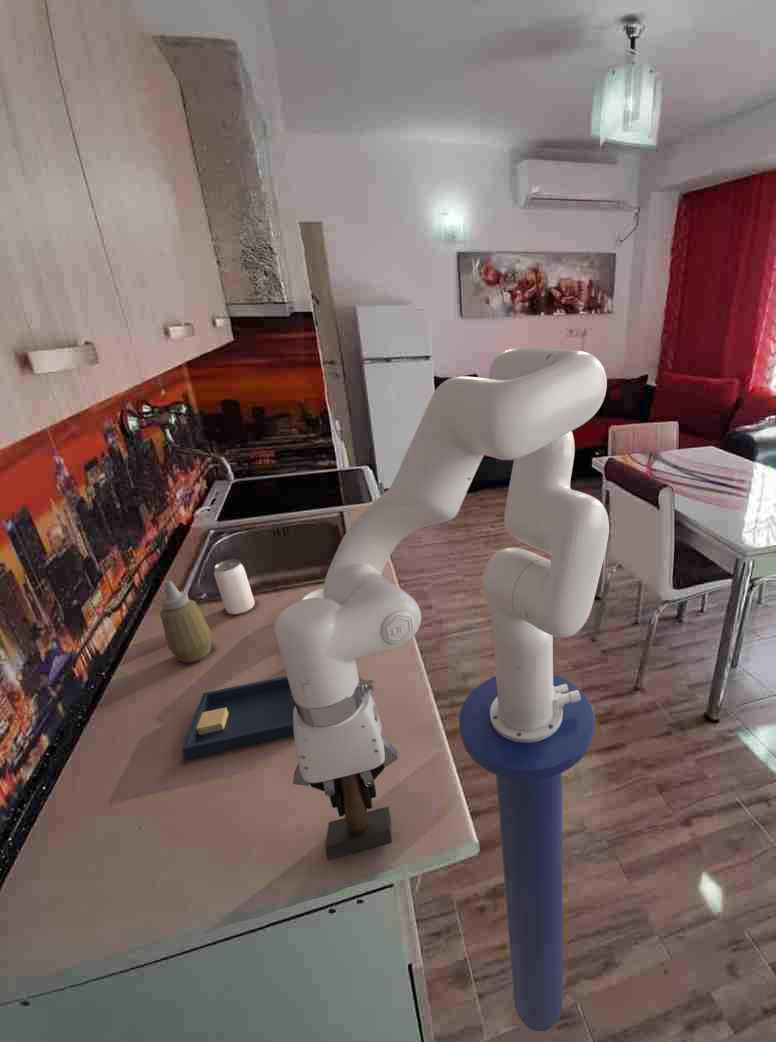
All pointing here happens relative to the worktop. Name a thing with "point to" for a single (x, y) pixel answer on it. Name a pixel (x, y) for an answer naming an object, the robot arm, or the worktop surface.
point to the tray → (244, 717)
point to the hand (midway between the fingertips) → (355, 802)
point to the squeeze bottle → (184, 626)
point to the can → (234, 587)
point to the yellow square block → (212, 721)
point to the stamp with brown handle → (356, 823)
